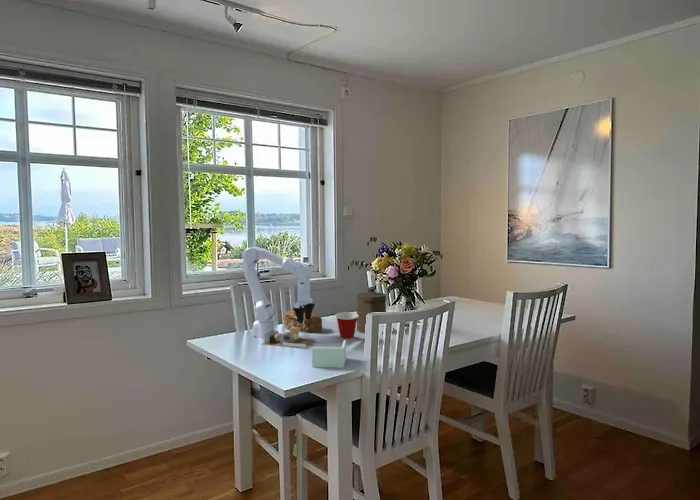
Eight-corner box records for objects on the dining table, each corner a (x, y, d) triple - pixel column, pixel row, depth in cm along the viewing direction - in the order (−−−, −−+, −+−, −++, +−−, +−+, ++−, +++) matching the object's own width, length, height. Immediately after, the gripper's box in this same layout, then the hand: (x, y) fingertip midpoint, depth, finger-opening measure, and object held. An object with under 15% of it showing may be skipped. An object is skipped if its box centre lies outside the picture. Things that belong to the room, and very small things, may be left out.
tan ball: (272, 342, 221) (272, 333, 220) (277, 340, 224) (277, 331, 224) (280, 343, 219) (280, 334, 219) (285, 341, 223) (284, 332, 223)
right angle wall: (346, 358, 201) (345, 340, 201) (343, 367, 189) (343, 348, 189) (316, 358, 202) (316, 340, 201) (312, 367, 190) (312, 348, 189)
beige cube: (280, 344, 218) (280, 328, 217) (288, 340, 224) (287, 325, 224) (293, 345, 215) (293, 329, 215) (301, 341, 222) (300, 326, 221)
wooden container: (391, 328, 252) (391, 285, 251) (377, 334, 240) (377, 289, 238) (366, 325, 260) (365, 284, 259) (351, 331, 248) (350, 287, 246)
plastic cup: (338, 343, 224) (338, 317, 223) (333, 338, 234) (332, 313, 233) (361, 342, 227) (361, 316, 226) (355, 336, 237) (354, 311, 236)
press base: (260, 347, 219) (260, 335, 218) (274, 341, 230) (274, 329, 229) (305, 352, 210) (305, 339, 210) (317, 345, 222) (317, 333, 221)
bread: (283, 329, 254) (283, 310, 254) (299, 325, 262) (299, 307, 261) (306, 335, 241) (306, 314, 240) (323, 331, 249) (323, 311, 248)
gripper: (304, 294, 220) (305, 324, 221) (318, 289, 233) (318, 318, 234) (290, 293, 222) (291, 323, 223) (305, 289, 236) (305, 317, 237)
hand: (304, 320), depth 229 cm, fingers open, 7 cm apart
